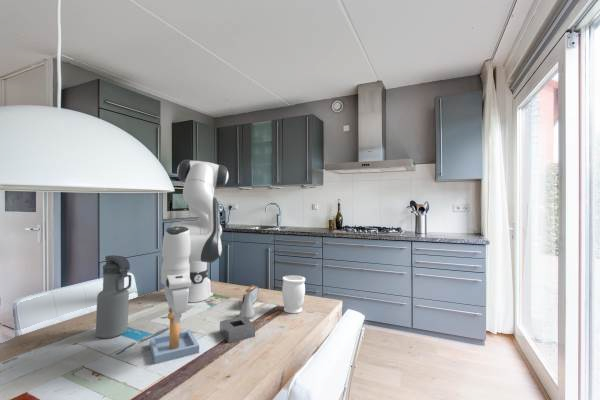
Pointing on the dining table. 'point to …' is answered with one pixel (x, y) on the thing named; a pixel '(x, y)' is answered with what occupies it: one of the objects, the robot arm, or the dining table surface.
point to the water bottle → (113, 298)
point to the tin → (252, 293)
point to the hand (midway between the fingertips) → (174, 317)
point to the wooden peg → (173, 332)
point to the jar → (293, 293)
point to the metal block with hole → (237, 329)
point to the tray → (163, 352)
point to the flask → (247, 307)
